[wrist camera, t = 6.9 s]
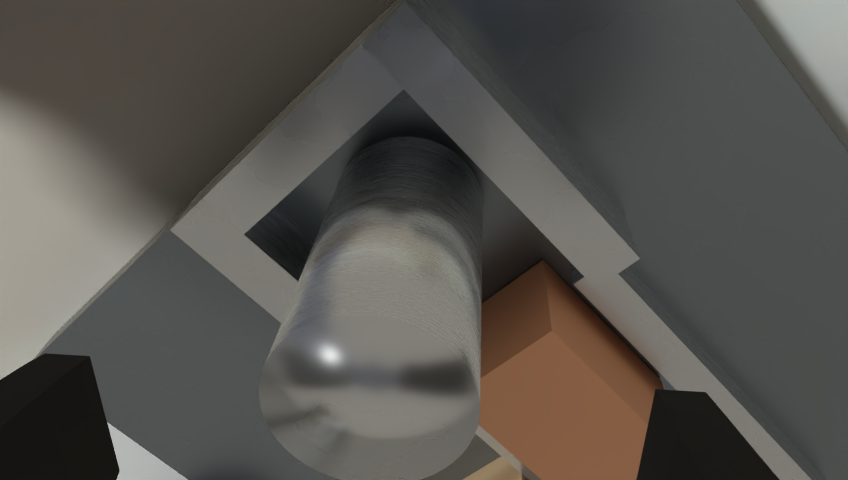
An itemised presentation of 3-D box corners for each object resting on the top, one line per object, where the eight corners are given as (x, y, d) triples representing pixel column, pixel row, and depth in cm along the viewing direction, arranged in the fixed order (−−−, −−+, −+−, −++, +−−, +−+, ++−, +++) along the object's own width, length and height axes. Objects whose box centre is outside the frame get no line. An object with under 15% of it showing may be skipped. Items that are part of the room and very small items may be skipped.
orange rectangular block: (454, 323, 17) (449, 398, 14) (542, 259, 16) (552, 330, 14) (572, 432, 18) (584, 517, 16) (661, 380, 17) (686, 462, 15)
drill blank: (306, 199, 15) (214, 396, 10) (410, 105, 14) (366, 273, 9) (407, 291, 16) (370, 514, 11) (513, 210, 15) (526, 416, 10)
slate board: (49, 333, 19) (-14, 408, 17) (585, -194, 13) (608, -196, 10) (583, 726, 26) (593, 819, 24) (1108, 514, 20) (1196, 613, 17)
